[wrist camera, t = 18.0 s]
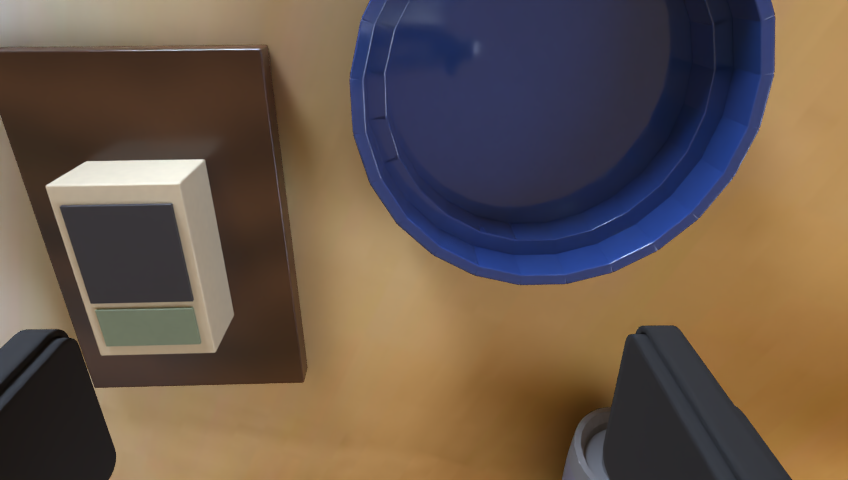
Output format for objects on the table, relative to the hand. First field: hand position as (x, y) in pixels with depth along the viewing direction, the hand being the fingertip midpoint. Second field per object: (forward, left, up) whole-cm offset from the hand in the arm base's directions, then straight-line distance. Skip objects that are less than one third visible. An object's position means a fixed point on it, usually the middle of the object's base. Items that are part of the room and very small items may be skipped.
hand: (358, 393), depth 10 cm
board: (+7, -12, -21) cm, 26 cm away
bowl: (-1, +8, -21) cm, 23 cm away
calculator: (+7, -12, -20) cm, 24 cm away
